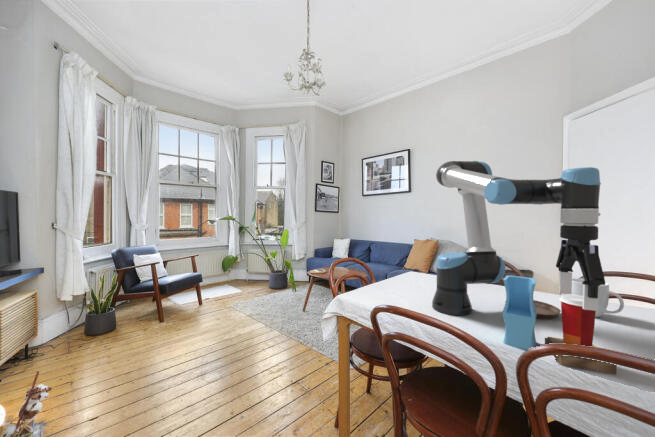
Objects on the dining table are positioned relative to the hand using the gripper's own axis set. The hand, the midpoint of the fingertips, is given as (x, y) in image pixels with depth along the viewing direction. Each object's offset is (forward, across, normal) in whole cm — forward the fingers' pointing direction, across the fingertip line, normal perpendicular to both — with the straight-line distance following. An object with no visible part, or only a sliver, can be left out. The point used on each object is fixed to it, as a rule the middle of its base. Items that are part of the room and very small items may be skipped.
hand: (576, 301), depth 73 cm
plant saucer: (+17, +36, 0) cm, 40 cm away
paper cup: (+13, 0, 0) cm, 13 cm away
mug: (+17, +41, -21) cm, 49 cm away
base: (+16, 0, 0) cm, 16 cm away
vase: (+16, +4, +12) cm, 21 cm away
